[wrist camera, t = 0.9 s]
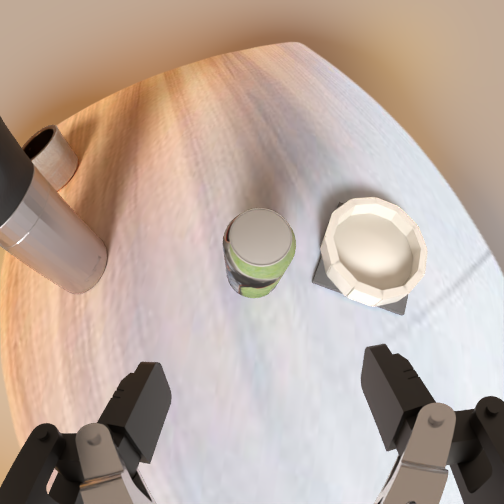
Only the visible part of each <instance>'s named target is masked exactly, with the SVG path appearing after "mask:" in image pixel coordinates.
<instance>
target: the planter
mask: <svg viewBox="0 0 504 504" xmlns="http://www.w3.org/2000/svg"><path fill="white" fill-rule="evenodd" d="M22 149H23V151H24V152H25V154H26V155H27V156H28V157H29V159H30V160H31V161H32V163H33V164H34V165H35V166H36V167H37V169H38V170H39V171H40V172H41V174H42V175H43V176H44V177H45V178H46V180H47V181H48V182H49V183H50V184H51V185H52V187H53V188H54V189H55V190H56V191H59V190H60V189H61V188H63V187H64V186H65V185H66V184H67V183H68V182H69V180H70V179H71V178H72V176H73V174H74V173H75V171H76V168H77V165H78V158H77V156H76V154H75V153H74V151H73V150H72V148H71V147H70V146H69V144H68V143H67V141H66V140H65V138H64V137H63V135H62V134H61V132H60V131H59V129H58V127H57V126H56V125H49V126H47V127H45V128H43V129H41V130H40V131H38V132H37V133H36V134H34V135H33V136H32V137H31V138H30V139H29V140H28V141H27V142H26V143H25V144H24V146H23V147H22Z"/></svg>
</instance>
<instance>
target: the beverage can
mask: <svg viewBox="0 0 504 504" xmlns="http://www.w3.org/2000/svg"><path fill="white" fill-rule="evenodd" d="M295 249H296V240H295V235H294V233H293V230H292V228H291V227H290V225H289V224H288V223H287V221H286V220H285V219H284V218H283V217H282V216H281V215H280V214H278V213H277V212H275V211H273V210H270V209H266V208H253V209H249V210H247V211H245V212H243V213H241V214H240V215H238V216H237V217H235V218H234V219H233V220H232V221H231V222H230V224H229V225H228V227H227V229H226V231H225V233H224V237H223V250H224V257H225V264H226V271H227V278H228V281H229V283H230V285H231V286H232V288H233V289H234V290H235V291H236V292H237V293H239V294H240V295H242V296H245V297H249V298H259V297H263V296H265V295H267V294H269V293H270V292H271V291H272V290H273V289H274V288H275V287H276V285H277V284H278V282H279V280H280V279H281V277H282V276H283V274H284V272H285V271H286V269H287V267H288V266H289V264H290V263H291V261H292V259H293V257H294V254H295Z"/></svg>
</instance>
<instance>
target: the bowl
mask: <svg viewBox="0 0 504 504" xmlns="http://www.w3.org/2000/svg"><path fill="white" fill-rule="evenodd" d="M320 250H321V254H322V259H323V263H324V267H325V272H326V274H327V276H328V278H329V279H330V280H331V281H332V282H333V283H334V284H335V285H336V287H337V288H338V289H339V290H340V291H341V292H342V293H343V295H344V296H345V297H346V296H347V298H349V299H352V300H355V301H357V302H360V303H363V304H366V305H368V306H371V307H372V306H373V307H376V306H380V305H385V304H389V303H394V302H397V301H399V300H400V299H402V298H403V297H405V296H406V295H407V294H409V293H410V292H411V290H412V289H413V288H414V287H415V286H416V285H417V284H418V282H419V281H420V280H421V279H422V278H423V276H424V274H425V269H426V260H427V247H426V244H425V242H424V239H423V236H422V234H421V231H420V229H419V226H417V224H416V223H415V222H414V221H413V220H412V219H411V218H410V217H409V216H408V215H407V214H406V213H405V212H404V211H403V210H402V209H401V208H400V207H399V206H397V205H394V204H392V203H390V202H387V201H385V200H382V199H379V198H377V197H376V198H375V197H367V198H354V199H352V200H351V199H350V200H349V201H347V202H346V203H345V204H343V205H342V206H341V207H339V208H338V209H336V210H335V211H334V212H333V213H332V215H331V218H330V221H329V224H328V227H327V230H326V233H325V236H324V239H323V242H322V244H321V247H320Z"/></svg>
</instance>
